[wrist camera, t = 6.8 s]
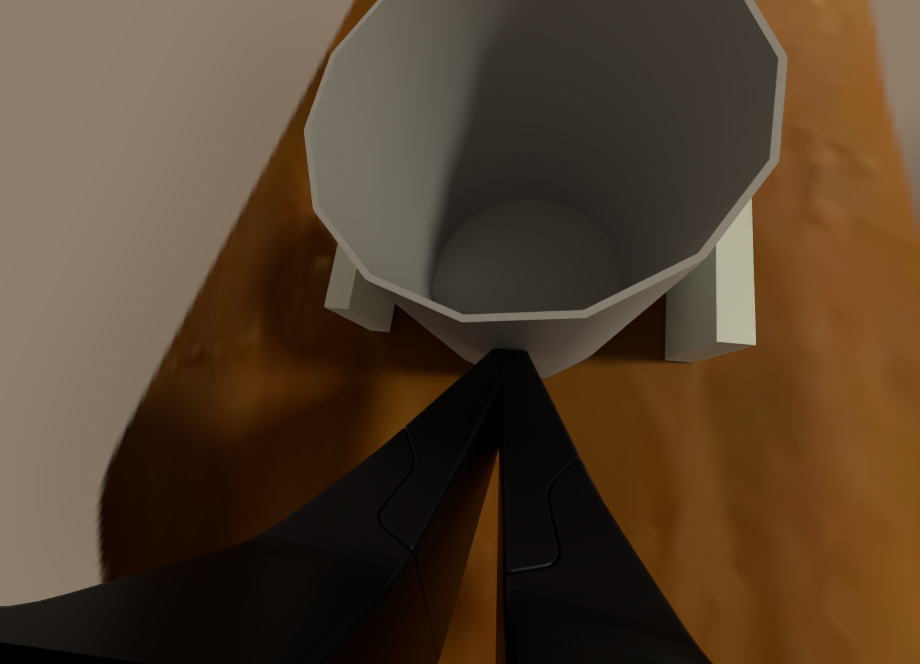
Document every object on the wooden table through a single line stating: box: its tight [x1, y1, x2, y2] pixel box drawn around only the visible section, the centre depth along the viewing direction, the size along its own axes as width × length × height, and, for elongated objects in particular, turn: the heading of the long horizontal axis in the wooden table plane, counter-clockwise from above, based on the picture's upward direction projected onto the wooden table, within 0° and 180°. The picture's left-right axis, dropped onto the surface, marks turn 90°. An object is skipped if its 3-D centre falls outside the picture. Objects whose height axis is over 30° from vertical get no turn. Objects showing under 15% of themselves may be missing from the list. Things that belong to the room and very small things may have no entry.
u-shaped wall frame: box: [324, 199, 756, 363], centre depth 14 cm, size 11×14×4 cm
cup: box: [304, 0, 788, 378], centre depth 11 cm, size 8×8×10 cm
